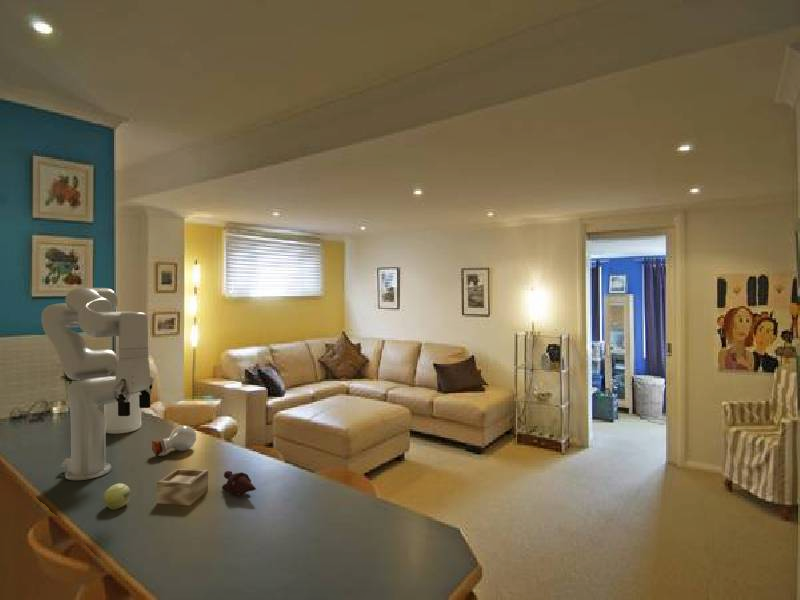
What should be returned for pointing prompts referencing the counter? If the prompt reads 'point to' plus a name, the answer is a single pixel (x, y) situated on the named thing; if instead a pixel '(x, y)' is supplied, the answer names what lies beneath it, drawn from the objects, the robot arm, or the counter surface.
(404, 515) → the counter surface
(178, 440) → the potion bottle
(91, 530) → the counter surface
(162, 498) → the wooden box
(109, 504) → the tennis ball
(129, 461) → the counter surface
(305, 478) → the counter surface
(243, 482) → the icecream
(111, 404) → the bottle
